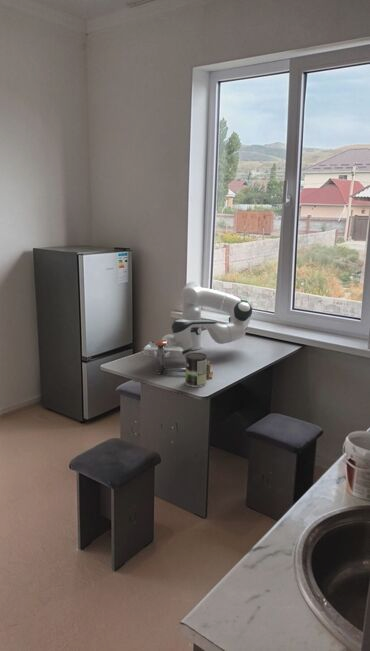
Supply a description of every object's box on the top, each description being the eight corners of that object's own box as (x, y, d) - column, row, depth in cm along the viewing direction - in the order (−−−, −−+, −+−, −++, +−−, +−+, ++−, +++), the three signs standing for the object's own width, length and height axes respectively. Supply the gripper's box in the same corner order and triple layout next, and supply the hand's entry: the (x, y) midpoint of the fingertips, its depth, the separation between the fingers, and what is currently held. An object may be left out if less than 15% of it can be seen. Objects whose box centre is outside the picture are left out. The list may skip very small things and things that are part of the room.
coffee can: (186, 387, 237) (186, 359, 233) (184, 379, 247) (184, 352, 243) (207, 386, 238) (208, 358, 234) (205, 379, 248) (205, 352, 244)
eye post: (197, 378, 249) (197, 365, 247) (199, 373, 257) (199, 360, 255) (211, 378, 248) (211, 365, 246) (212, 373, 256) (213, 360, 254)
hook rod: (153, 374, 253) (153, 343, 249) (156, 370, 259) (155, 339, 255) (196, 376, 250) (196, 344, 246) (197, 372, 256) (197, 341, 252)
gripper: (184, 354, 265) (180, 362, 251) (146, 353, 267) (141, 360, 254) (184, 343, 263) (180, 350, 250) (146, 341, 266) (140, 349, 252)
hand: (160, 355), depth 252 cm, fingers closed on hook rod, 3 cm apart
